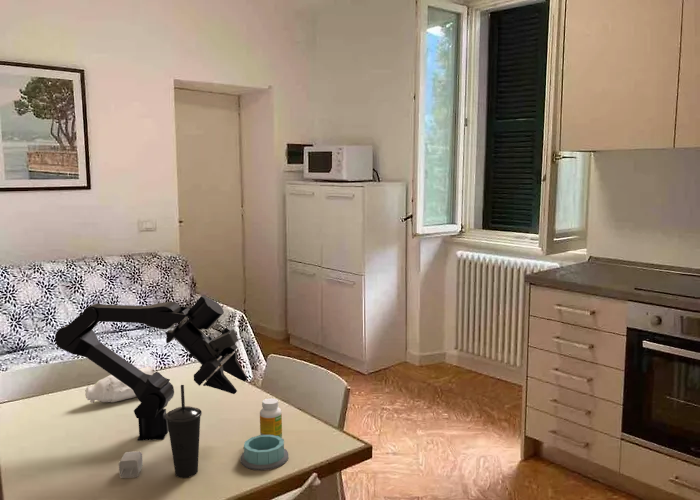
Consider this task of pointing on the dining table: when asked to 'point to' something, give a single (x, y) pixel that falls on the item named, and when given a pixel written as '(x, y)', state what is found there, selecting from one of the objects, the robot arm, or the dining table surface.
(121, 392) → the white bottle
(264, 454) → the teal round bowl
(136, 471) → the usb wall charger
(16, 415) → the dining table surface
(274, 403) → the supplement bottle
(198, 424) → the drinking cup
